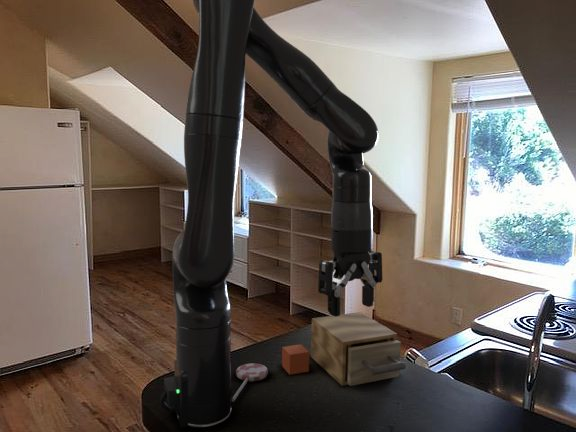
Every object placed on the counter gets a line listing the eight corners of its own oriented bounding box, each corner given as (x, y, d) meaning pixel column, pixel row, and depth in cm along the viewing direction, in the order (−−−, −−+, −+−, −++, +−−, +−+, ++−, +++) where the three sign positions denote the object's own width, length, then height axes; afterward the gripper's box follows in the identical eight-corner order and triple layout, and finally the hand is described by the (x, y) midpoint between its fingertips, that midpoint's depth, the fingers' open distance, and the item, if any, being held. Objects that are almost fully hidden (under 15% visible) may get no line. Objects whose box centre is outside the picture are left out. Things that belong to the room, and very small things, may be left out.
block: (289, 374, 99) (289, 354, 99) (281, 366, 103) (282, 346, 103) (308, 371, 101) (309, 351, 100) (300, 363, 105) (300, 344, 104)
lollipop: (215, 395, 88) (241, 361, 103) (215, 400, 88) (241, 366, 103) (249, 399, 87) (271, 364, 101) (250, 405, 87) (271, 369, 101)
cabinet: (395, 375, 100) (397, 333, 98) (341, 385, 95) (343, 342, 94) (359, 349, 113) (360, 311, 112) (310, 357, 108) (311, 318, 107)
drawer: (414, 387, 93) (416, 351, 92) (363, 398, 88) (364, 360, 87) (364, 351, 110) (365, 320, 109) (319, 358, 105) (320, 326, 104)
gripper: (364, 219, 95) (363, 298, 97) (308, 226, 86) (309, 313, 89) (393, 223, 89) (392, 307, 91) (336, 232, 80) (336, 324, 83)
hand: (351, 310), depth 90 cm, fingers open, 8 cm apart
